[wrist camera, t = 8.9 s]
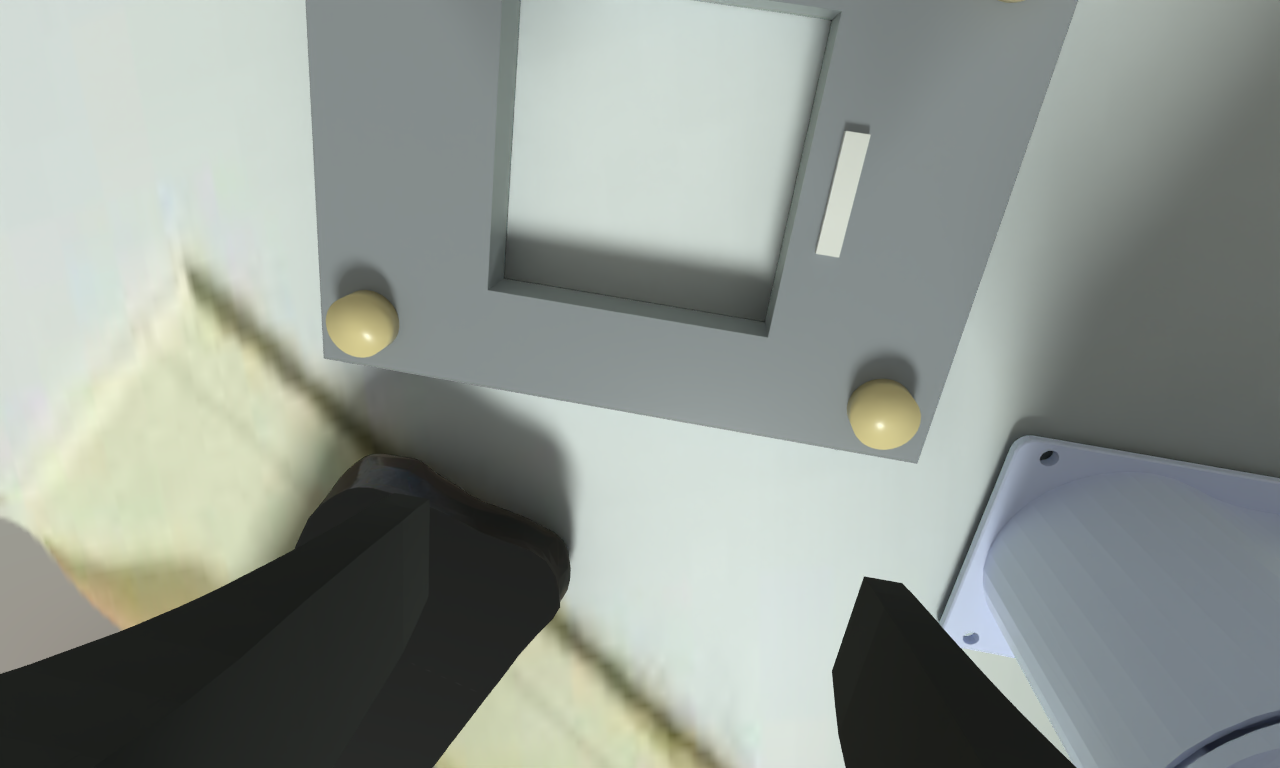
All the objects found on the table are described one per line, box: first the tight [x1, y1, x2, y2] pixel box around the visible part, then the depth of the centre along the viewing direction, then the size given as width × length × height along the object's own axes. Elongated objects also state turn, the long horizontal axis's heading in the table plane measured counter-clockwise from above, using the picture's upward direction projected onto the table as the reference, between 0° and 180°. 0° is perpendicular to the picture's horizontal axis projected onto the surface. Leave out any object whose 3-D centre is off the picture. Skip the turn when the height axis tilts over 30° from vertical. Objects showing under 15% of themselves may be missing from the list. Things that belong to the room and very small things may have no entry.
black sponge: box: [295, 454, 570, 768], centre depth 24 cm, size 16×8×4 cm, turn 147°
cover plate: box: [306, 0, 1078, 464], centre depth 17 cm, size 18×14×2 cm
